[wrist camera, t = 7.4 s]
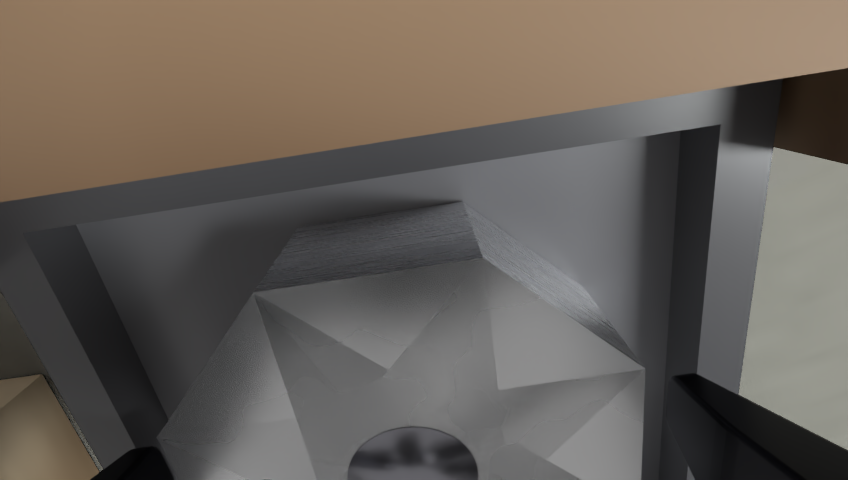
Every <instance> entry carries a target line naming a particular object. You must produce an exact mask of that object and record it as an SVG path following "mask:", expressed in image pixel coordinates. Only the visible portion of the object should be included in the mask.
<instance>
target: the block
mask: <svg viewBox="0 0 848 480" xmlns="http://www.w3.org/2000/svg"><path fill="white" fill-rule="evenodd" d="M98 473H99V471H98V469H97V467H96V466H95V464H94V462H93V460H92V459H91V457H90V455H89V454H88V452H87V450H86V448H85V447H84V445H83V443H82V442H81V440H80V438H79V436H78V435H77V433H76V431H75V430H74V428H73V426H72V424H71V423H70V421H69V419H68V418H67V416H66V414H65V412H64V411H63V409H62V407H61V406H60V404H59V402H58V400H57V399H56V397H55V395H54V394H53V392H52V390H51V388H50V387H49V385H48V383H47V382H46V380H45V378H44V376H43V375H42V374H39V375H32V376H26V377H19V378H12V379H5V380H0V480H90V479H91V478H93V477H94V476H95V475H97V474H98Z"/></svg>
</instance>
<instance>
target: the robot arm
mask: <svg viewBox="0 0 848 480" xmlns="http://www.w3.org/2000/svg"><path fill="white" fill-rule="evenodd" d="M666 419H667V423H668V426H669V428H670V430H671V432H672V434H673V436H674V438H675V440H676V442H677V444H678V446H679V448H680V450H681V452H682V454H683V456H684V458H685V460H686V463H687V465H688V467H689V469H690V471H691V473H692V475H693V477H694V479H695V480H848V450H846V449H844V448H842V447H840V446H838V445H836V444H834V443H832V442H830V441H828V440H826V439H825V438H823V437H821V436H819V435H817V434H815V433H813V432H811V431H809V430H807V429H805V428H803V427H801V426H799V425H797V424H795V423H793V422H791V421H789V420H787V419H785V418H783V417H781V416H779V415H777V414H775V413H773V412H771V411H769V410H768V409H766V408H764V407H762V406H760V405H758V404H756V403H754V402H752V401H750V400H748V399H746V398H744V397H742V396H740V395H738V394H736V393H734V392H732V391H730V390H728V389H726V388H724V387H722V386H720V385H718V384H716V383H714V382H713V381H711V380H709V379H707V378H705V377H703V376H701V375H698V374H696V373H687V374H680V375H673V376H671V377H670V378H669V380H668V384H667V399H666ZM90 480H174V477H173V474H172V472H171V470H170V468H169V466H168V464H167V462H166V460H165V458H164V456H163V454H162V452H161V451H160V449H159V448H157V447H156V446H147V447H140V448H134V449H131V450H129V451H128V452H126V453H125V454H123V455H122V456H121V457H119V458H118V459H117V460H115V461H114V462H113V463H111V464H110V465H109V466H107V467H106V468H105V469H103V470H102V471H101V472H99V473H98V474H97V475H95V476H94V477H93V478H91V479H90Z"/></svg>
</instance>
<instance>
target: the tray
mask: <svg viewBox="0 0 848 480" xmlns="http://www.w3.org/2000/svg"><path fill="white" fill-rule="evenodd" d="M782 83H783V78H782V79H775V80H769V81H763V82H757V83H750V84H744V85H738V86H731V87H725V88H719V89H712V90H706V91H700V92H693V93H687V94H681V95H674V96H668V97H662V98H656V99H649V100H643V101H637V102H630V103H624V104H618V105H611V106H605V107H599V108H592V109H586V110H580V111H573V112H567V113H561V114H555V115H548V116H542V117H536V118H529V119H523V120H517V121H510V122H504V123H498V124H491V125H485V126H479V127H472V128H466V129H460V130H454V131H447V132H441V133H435V134H428V135H422V136H416V137H409V138H403V139H397V140H390V141H384V142H378V143H371V144H365V145H359V146H353V147H346V148H340V149H334V150H327V151H321V152H315V153H308V154H302V155H296V156H289V157H283V158H277V159H270V160H264V161H258V162H252V163H245V164H239V165H233V166H226V167H220V168H214V169H207V170H201V171H195V172H188V173H182V174H176V175H169V176H163V177H157V178H151V179H144V180H138V181H132V182H125V183H119V184H113V185H106V186H100V187H94V188H87V189H81V190H75V191H68V192H62V193H56V194H50V195H43V196H37V197H31V198H24V199H18V200H12V201H5V202H0V291H1V292H2V294H3V296H4V297H5V299H6V301H7V303H8V304H9V306H10V308H11V310H12V311H13V313H14V315H15V317H16V318H17V320H18V322H19V323H20V325H21V327H22V329H23V330H24V332H25V334H26V336H27V337H28V339H29V341H30V343H31V344H32V346H33V348H34V349H35V351H36V353H37V355H38V356H39V358H40V360H41V362H42V363H43V365H44V367H45V369H46V370H47V372H48V374H49V375H50V377H51V379H52V381H53V382H54V384H55V386H56V388H57V389H58V391H59V393H60V395H61V396H62V398H63V400H64V401H65V403H66V405H67V407H68V408H69V410H70V412H71V414H72V415H73V417H74V419H75V421H76V422H77V424H78V426H79V428H80V429H81V431H82V433H83V434H84V436H85V438H86V440H87V441H88V443H89V445H90V447H91V448H92V450H93V452H94V454H95V455H96V457H97V459H98V460H99V462H100V464H101V466H102V467H103V469H105V468H106V467H107V466H109V465H110V464H111V463H113V462H114V461H115V460H117V459H118V458H119V457H121V456H122V455H123V454H125V453H126V452H128V451H129V450H131V449H134V448H140V447H147V446H156V447H157V448H159V449H160V451H161V452H162V454H163V456H164V458H165V460H166V462H167V464H168V466H169V468H170V470H171V472H172V474H173V477H174V480H178V479H177V477H176V475H175V473H174V471H173V469H172V467H171V465H170V463H169V461H168V459H167V457H166V455H165V453H164V451H163V449H162V447H161V445H160V443H159V441H158V439H157V437H158V435H159V434H160V432H161V431H162V429H163V428H164V426H165V425H166V423H167V422H168V420H169V418H170V417H171V415H172V414H173V412H174V411H175V409H176V408H177V406H178V405H179V403H180V402H181V400H182V399H183V397H184V396H185V394H186V393H187V391H188V390H189V388H190V387H191V385H192V384H193V382H194V381H195V379H196V378H197V376H198V375H199V373H200V372H201V370H202V369H203V367H204V366H205V364H206V363H207V361H208V360H209V358H210V357H211V355H212V354H213V352H214V351H215V349H216V348H217V346H218V345H219V343H220V342H221V340H222V339H223V337H224V336H225V334H226V333H227V331H228V330H229V328H230V327H231V325H232V324H233V322H234V321H235V319H236V318H237V316H238V315H239V313H240V312H241V310H242V309H243V307H244V306H245V304H246V303H247V301H248V300H249V298H250V297H251V295H252V294H253V292H254V291H255V289H256V288H257V286H258V285H259V284H260V282H261V281H262V279H263V278H264V276H265V275H266V273H267V272H268V270H269V269H270V268H271V266H272V265H273V263H274V262H275V260H276V259H277V257H278V256H279V254H280V253H281V252H282V250H283V249H284V247H285V246H286V244H287V243H288V241H289V240H290V238H291V237H292V236H293V234H294V233H295V231H296V230H297V228H298V227H299V226H305V225H312V224H318V223H325V222H331V221H337V220H344V219H350V218H357V217H363V216H369V215H376V214H382V213H389V212H395V211H402V210H408V209H414V208H421V207H427V206H434V205H440V204H446V203H453V202H459V201H463V202H465V203H466V204H468V205H469V206H470V207H472V208H473V209H475V210H476V211H477V212H479V213H480V214H482V215H483V216H484V217H486V218H487V219H489V220H490V221H491V222H493V223H494V224H496V225H497V226H498V227H500V228H501V229H503V230H504V231H505V232H507V233H508V234H510V235H511V236H512V237H514V238H515V239H517V240H518V241H519V242H521V243H522V244H524V245H525V246H526V247H528V248H529V249H531V250H532V251H533V252H535V253H536V254H538V255H539V256H540V257H542V258H543V259H545V260H546V261H547V262H549V263H550V264H552V265H553V266H554V267H556V268H557V269H559V270H560V271H561V272H563V273H564V274H566V275H567V276H568V277H570V278H571V279H573V280H574V281H575V282H577V283H578V284H580V285H581V286H582V287H584V288H585V290H586V291H587V292H588V294H589V295H590V296H591V298H592V299H593V300H594V302H595V303H596V304H597V306H598V307H599V308H600V310H601V311H602V312H603V314H604V315H605V316H606V318H607V319H608V320H609V322H610V323H611V324H612V325H613V327H614V328H615V329H616V331H617V332H618V333H619V335H620V336H621V337H622V339H623V340H624V341H625V343H626V344H627V345H628V347H629V348H630V349H631V351H632V352H633V353H634V355H635V356H636V357H637V359H638V360H639V361H640V363H641V364H642V365H643V366H644V368H645V394H644V419H643V444H642V469H641V480H695V479H694V477H693V475H692V473H691V471H690V469H689V467H688V465H687V463H686V460H685V458H684V456H683V454H682V452H681V450H680V448H679V446H678V444H677V442H676V440H675V438H674V436H673V434H672V432H671V430H670V428H669V426H668V423H667V419H666V399H667V384H668V380H669V378H670V377H671V376H673V375H680V374H687V373H696V374H698V375H701V376H703V377H705V378H707V379H709V380H711V381H713V382H714V383H716V384H718V385H720V386H722V387H724V388H726V389H728V390H730V391H732V392H734V393H736V394H738V393H739V386H740V379H741V372H742V365H743V358H744V351H745V343H746V336H747V329H748V322H749V315H750V308H751V301H752V294H753V287H754V280H755V273H756V266H757V259H758V252H759V245H760V238H761V231H762V224H763V217H764V210H765V203H766V195H767V188H768V181H769V174H770V167H771V160H772V153H773V146H774V139H775V132H776V125H777V118H778V111H779V104H780V97H781V90H782Z"/></svg>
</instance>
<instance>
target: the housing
mask: <svg viewBox="0 0 848 480" xmlns="http://www.w3.org/2000/svg"><path fill="white" fill-rule="evenodd" d="M782 78H783V83H782V90H781V97H780V104H779V111H778V118H777V125H776V132H775V139H774V146H773V147H776V148H781V149H785V150H789V151H793V152H798V153H802V154H806V155H810V156H815V157H819V158H823V159H827V160H831V161H836V162H840V163H844V164H848V0H0V202H5V201H12V200H18V199H24V198H31V197H37V196H43V195H50V194H56V193H62V192H68V191H75V190H81V189H87V188H94V187H100V186H106V185H113V184H119V183H125V182H132V181H138V180H144V179H151V178H157V177H163V176H169V175H176V174H182V173H188V172H195V171H201V170H207V169H214V168H220V167H226V166H233V165H239V164H245V163H252V162H258V161H264V160H270V159H277V158H283V157H289V156H296V155H302V154H308V153H315V152H321V151H327V150H334V149H340V148H346V147H353V146H359V145H365V144H371V143H378V142H384V141H390V140H397V139H403V138H409V137H416V136H422V135H428V134H435V133H441V132H447V131H454V130H460V129H466V128H472V127H479V126H485V125H491V124H498V123H504V122H510V121H517V120H523V119H529V118H536V117H542V116H548V115H555V114H561V113H567V112H573V111H580V110H586V109H592V108H599V107H605V106H611V105H618V104H624V103H630V102H637V101H643V100H649V99H656V98H662V97H668V96H674V95H681V94H687V93H693V92H700V91H706V90H712V89H719V88H725V87H731V86H738V85H744V84H750V83H757V82H763V81H769V80H775V79H782Z"/></svg>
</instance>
